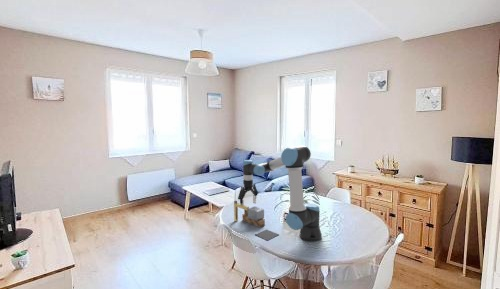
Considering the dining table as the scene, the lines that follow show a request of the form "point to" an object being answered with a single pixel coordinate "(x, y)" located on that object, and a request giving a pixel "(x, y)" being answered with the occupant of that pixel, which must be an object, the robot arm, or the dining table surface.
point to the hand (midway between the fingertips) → (248, 205)
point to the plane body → (257, 223)
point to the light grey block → (256, 213)
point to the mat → (267, 234)
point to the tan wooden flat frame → (237, 209)
